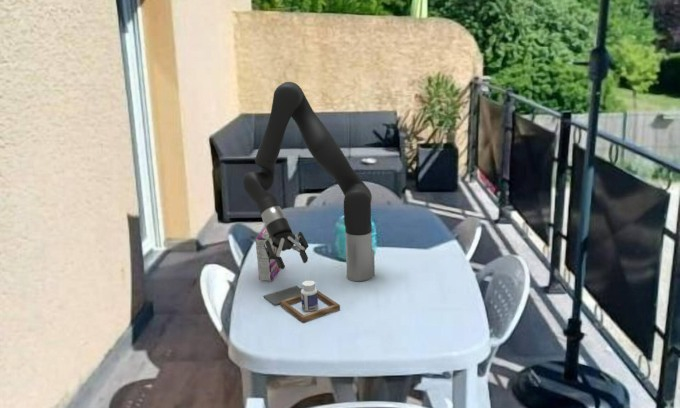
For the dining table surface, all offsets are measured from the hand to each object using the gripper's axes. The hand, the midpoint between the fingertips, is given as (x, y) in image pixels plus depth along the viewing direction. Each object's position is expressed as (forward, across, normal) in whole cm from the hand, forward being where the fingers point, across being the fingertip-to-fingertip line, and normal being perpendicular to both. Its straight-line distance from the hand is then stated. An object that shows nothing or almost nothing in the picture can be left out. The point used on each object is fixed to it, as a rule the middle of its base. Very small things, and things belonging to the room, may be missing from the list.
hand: (294, 265), depth 211 cm
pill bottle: (+15, 0, +3) cm, 15 cm away
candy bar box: (-7, +2, +25) cm, 26 cm away
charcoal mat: (+6, -2, +11) cm, 13 cm away
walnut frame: (+15, 0, +3) cm, 15 cm away
